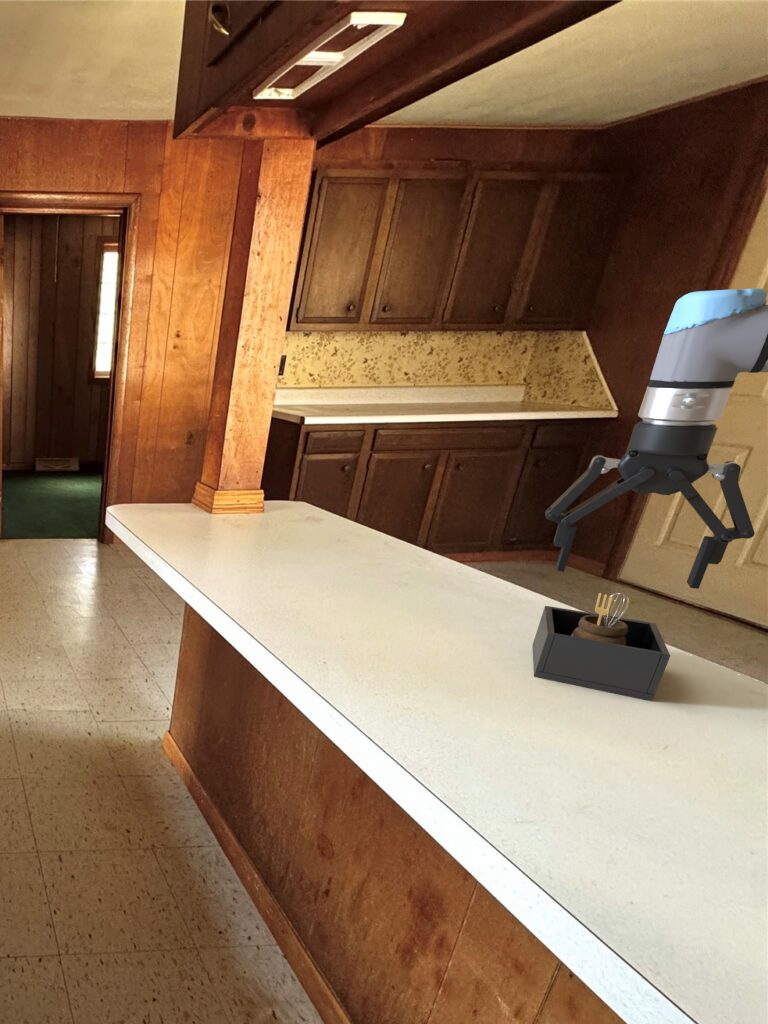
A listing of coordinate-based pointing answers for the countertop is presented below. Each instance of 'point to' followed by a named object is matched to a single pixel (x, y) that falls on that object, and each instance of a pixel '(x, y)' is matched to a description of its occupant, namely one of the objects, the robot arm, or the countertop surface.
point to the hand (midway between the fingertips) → (623, 577)
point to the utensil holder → (602, 624)
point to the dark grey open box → (599, 655)
